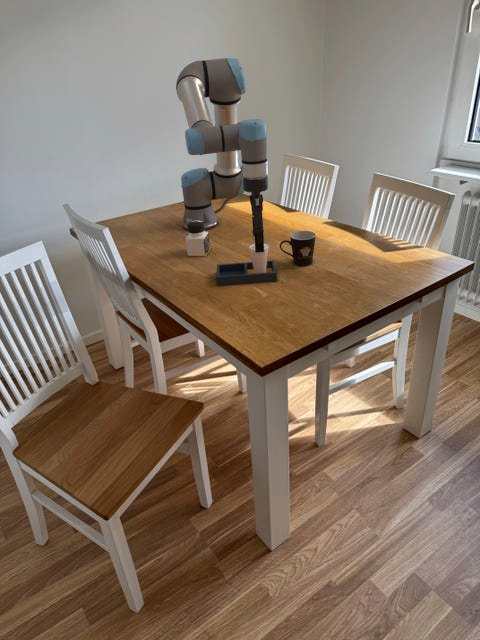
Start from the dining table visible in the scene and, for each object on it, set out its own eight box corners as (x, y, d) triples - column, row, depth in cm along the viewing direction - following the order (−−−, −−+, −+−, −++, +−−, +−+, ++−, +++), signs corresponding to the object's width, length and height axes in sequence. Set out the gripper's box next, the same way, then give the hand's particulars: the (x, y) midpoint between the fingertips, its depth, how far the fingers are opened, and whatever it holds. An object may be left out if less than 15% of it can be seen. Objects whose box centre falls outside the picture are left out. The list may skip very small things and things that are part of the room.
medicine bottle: (205, 256, 169) (202, 225, 163) (187, 256, 170) (183, 225, 164) (210, 249, 175) (207, 218, 169) (192, 249, 176) (188, 219, 170)
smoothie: (249, 270, 154) (247, 231, 146) (268, 268, 154) (266, 229, 147) (251, 278, 148) (249, 238, 141) (271, 276, 148) (269, 236, 141)
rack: (217, 272, 156) (217, 264, 154) (274, 268, 156) (273, 260, 154) (217, 285, 147) (216, 277, 146) (276, 281, 147) (276, 272, 145)
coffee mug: (317, 258, 160) (318, 231, 155) (312, 268, 153) (313, 240, 148) (285, 256, 164) (284, 229, 159) (279, 266, 157) (278, 238, 152)
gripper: (241, 167, 145) (245, 230, 157) (243, 189, 124) (248, 260, 135) (264, 165, 145) (267, 228, 156) (271, 187, 124) (273, 258, 135)
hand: (258, 243), depth 146 cm, fingers open, 13 cm apart
